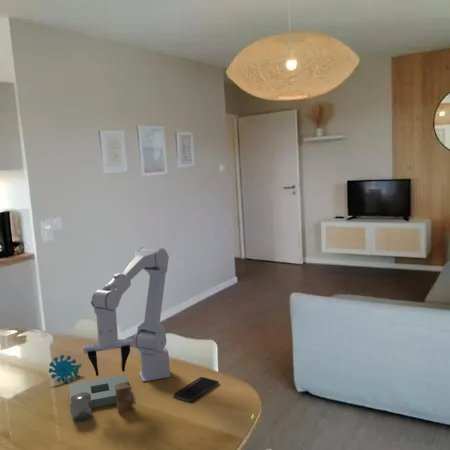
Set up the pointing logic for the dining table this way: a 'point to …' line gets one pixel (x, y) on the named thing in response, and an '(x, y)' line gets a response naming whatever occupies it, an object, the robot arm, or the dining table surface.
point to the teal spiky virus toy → (64, 368)
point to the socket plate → (99, 390)
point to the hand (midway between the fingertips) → (110, 372)
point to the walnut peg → (123, 397)
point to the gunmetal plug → (81, 406)
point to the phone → (196, 389)
